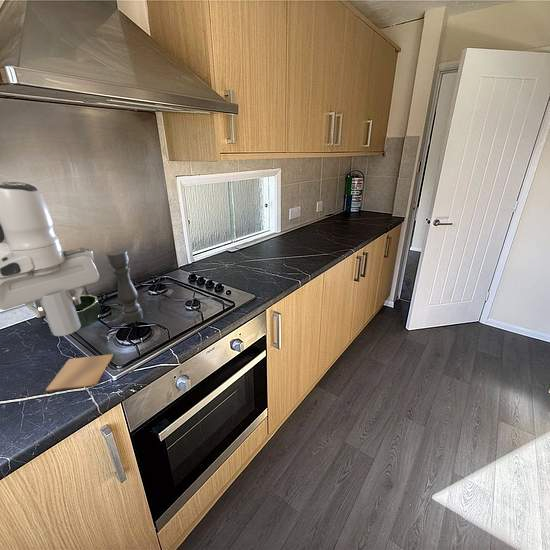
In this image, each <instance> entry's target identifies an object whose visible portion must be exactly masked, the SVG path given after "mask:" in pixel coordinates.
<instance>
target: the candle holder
mask: <svg viewBox="0 0 550 550" xmlns="http://www.w3.org/2000/svg"><path fill="white" fill-rule="evenodd" d="M106 256H107V260H108V264H109V265H110V266H111V267H112V268H113V270H112V274H113V275H114V276H115V277H116V281H117V299H118V301H119V302H120V303H121V304H122V305H123V306H122V308H121V311H122V313H121V314H122V319H123V322H124V323H125V324H127V325H130V324H129V323H134V324H136V323H135V322H136V321H138V322H137V323H140V322H141V321H143V319H144V314H143V309H142V307H141V306H140V304H139V303H138V301H137V299H138V296H139V294H138V291H137V289H136V288H135V286H134V284H133V282H132V280H131V276H130V271H131V268H130V267H128V264H129V256H128V251H127V249H115V250H110V251H109V252H107V253H106Z"/></svg>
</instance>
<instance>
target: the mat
mask: <svg viewBox="0 0 550 550" xmlns="http://www.w3.org/2000/svg"><path fill="white" fill-rule="evenodd" d="M113 357H114V354H113V353H111V354H102V355H93V356H92V355H91V356H84V357H73V358H69V359H67V361H66V362H65V363H64V365H63V366H62V367H61V369H60V370H59V371H58V373H57V374H56V375H55V377H54V378H53V379H52V381H51V382H50V383H49V385H48V386H47V387H46V388H45V392H54V391H62V390H69V389H78V388H87V387H93V386H95V387H96V386H98V384H99V383H100V381H101V379H102V377H103V375H104V373H106V372H105V371H106V370H107V368H108V366H109V365H108V364H111V361H112V359H113ZM106 367H107V368H106Z"/></svg>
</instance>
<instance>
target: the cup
mask: <svg viewBox="0 0 550 550" xmlns="http://www.w3.org/2000/svg"><path fill="white" fill-rule="evenodd" d="M72 297H73V296H72V294H71V290H69V291H68V290H67V289H65V290H63V291H61V292H59V293H56V294H52V295H45V296H43V298H42V299H39V300H38V301H39V304H40V306H41V307H42V309H43V310H44V313H45V315H46V316H44V317H45V319H46V322H47V324H48V327H49V330H50V332H51V333H52V335H53V336H54V337H64V336H68V335H71V334H73V333H76V332H77V331H78V330H80V329H81V328H80V327H81V323H80V320H79V317H78V314H77V311H76V308H75V305H74V302H73V300H72ZM41 307H40V308H41Z"/></svg>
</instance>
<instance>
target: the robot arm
mask: <svg viewBox="0 0 550 550" xmlns="http://www.w3.org/2000/svg"><path fill="white" fill-rule="evenodd" d="M0 244H5V245H7V246H8V247H9V250H10V253H8V254H6V255H4V256H2V257H0V310H3V311H6V310H10V309H13V308H17V307H20V306H22V305H25V306H26V308H28V309H29V310H31V311H32V312H34V313H35V316H36V318H38V319H40V318H43V317H45V316H46V315H45V313H44V310H43V309H42V307H38V308H37V307H36V306H35V302H36V301H39V299H42V298H43V296H45V295H52V294H56V293H59V292H61V291H63V290H65V289H67V290H68V291H71V290H74V291H75V293H74V296H72V300H73V302H74V305H78V304H81V300H80V297H81V295H83V294H82V293H83V287H85V286H89V285H92V284H95V283H98V282H99V279H100V274H99V271H98V269H97V267H96V265H95V263H94V261H95V257H94V253H93V251H92V250H91V249H89V248H87V247H86V248H85V247H78V248H75V249H68V250H63V248H62V245H61V242H60V239H59V237H58V236H57V234H56V232H55V230H54V221H53V218H52V215H51V212H50V209H49V206H48V205H47V203H46V200H45V198H44V196H43V195H42V193H41V192H40V190H39V189H38V188H37V187H35V186H34V185H31V184H30V183H25V182H18V181H0Z"/></svg>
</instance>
